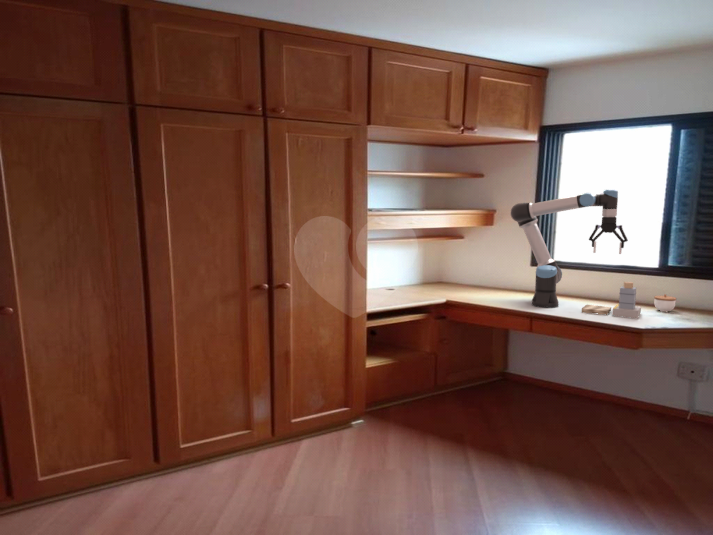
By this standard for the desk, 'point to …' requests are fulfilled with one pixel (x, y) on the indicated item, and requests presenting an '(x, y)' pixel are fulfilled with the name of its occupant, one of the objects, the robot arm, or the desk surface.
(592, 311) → the pallet
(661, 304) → the lidded jar
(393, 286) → the desk surface
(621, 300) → the grey stacked container
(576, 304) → the desk surface
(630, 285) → the parcel
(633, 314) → the dock
